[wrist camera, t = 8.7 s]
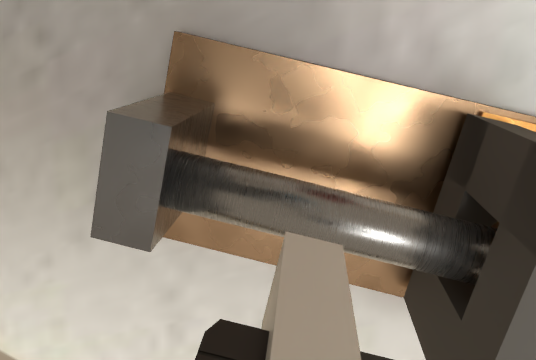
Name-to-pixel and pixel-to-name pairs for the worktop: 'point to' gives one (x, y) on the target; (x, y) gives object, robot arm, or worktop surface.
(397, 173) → the pipe rig
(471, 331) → the collar
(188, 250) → the worktop surface
